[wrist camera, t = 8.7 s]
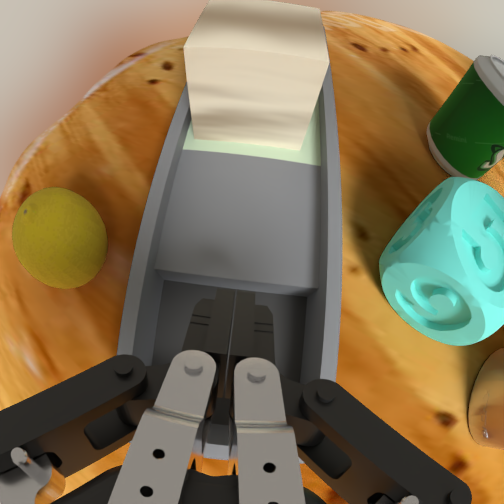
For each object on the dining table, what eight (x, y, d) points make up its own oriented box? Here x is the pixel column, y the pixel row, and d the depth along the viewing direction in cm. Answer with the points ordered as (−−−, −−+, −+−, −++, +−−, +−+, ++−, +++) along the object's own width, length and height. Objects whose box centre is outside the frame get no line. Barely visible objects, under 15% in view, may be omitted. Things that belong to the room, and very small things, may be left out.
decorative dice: (471, 273, 21) (537, 242, 13) (431, 350, 18) (510, 341, 11) (411, 208, 22) (468, 155, 14) (360, 280, 20) (426, 239, 12)
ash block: (299, 150, 19) (329, 62, 12) (194, 139, 19) (183, 47, 12) (299, 85, 21) (319, 8, 14) (212, 75, 21) (211, -3, 14)
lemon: (62, 226, 19) (3, 171, 12) (127, 220, 20) (81, 154, 12) (54, 299, 18) (-20, 268, 10) (122, 299, 18) (61, 266, 11)
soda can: (445, 191, 23) (528, 113, 12) (408, 126, 25) (466, 39, 14) (485, 182, 24) (555, 120, 13) (452, 125, 26) (506, 56, 15)
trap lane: (303, 439, 16) (324, 462, 12) (135, 419, 16) (110, 437, 12) (315, 58, 27) (324, 26, 23) (217, 46, 27) (217, 13, 23)
